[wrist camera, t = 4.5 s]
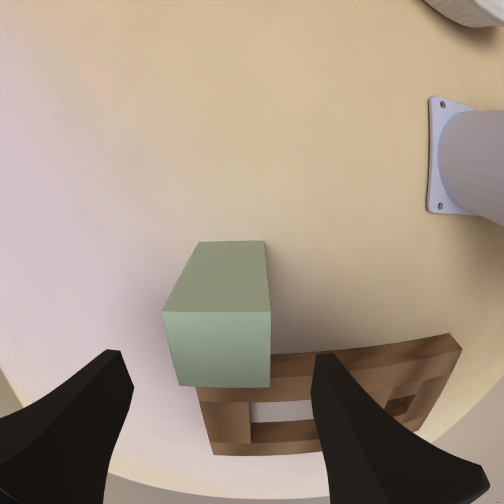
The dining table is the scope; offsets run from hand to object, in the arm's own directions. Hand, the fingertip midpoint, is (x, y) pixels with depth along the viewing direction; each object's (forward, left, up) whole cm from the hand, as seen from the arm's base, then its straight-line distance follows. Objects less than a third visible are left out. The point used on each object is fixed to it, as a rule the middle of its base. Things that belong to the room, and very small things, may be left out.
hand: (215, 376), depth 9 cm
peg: (0, 0, -9) cm, 9 cm away
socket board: (-8, +13, -9) cm, 18 cm away
